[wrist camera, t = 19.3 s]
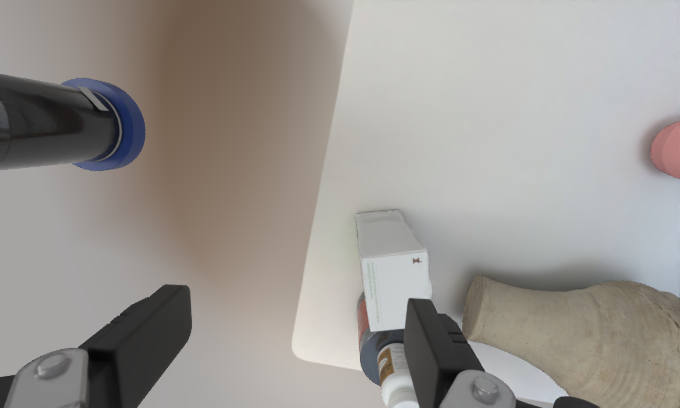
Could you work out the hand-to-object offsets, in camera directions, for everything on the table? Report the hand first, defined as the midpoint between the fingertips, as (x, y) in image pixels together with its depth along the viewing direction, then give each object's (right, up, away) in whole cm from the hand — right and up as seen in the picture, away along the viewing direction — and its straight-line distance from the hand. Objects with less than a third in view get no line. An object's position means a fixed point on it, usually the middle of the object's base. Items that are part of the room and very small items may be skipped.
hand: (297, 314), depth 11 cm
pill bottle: (+8, -14, +25) cm, 30 cm away
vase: (+30, -10, +35) cm, 47 cm away
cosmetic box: (+7, -1, +33) cm, 34 cm away
